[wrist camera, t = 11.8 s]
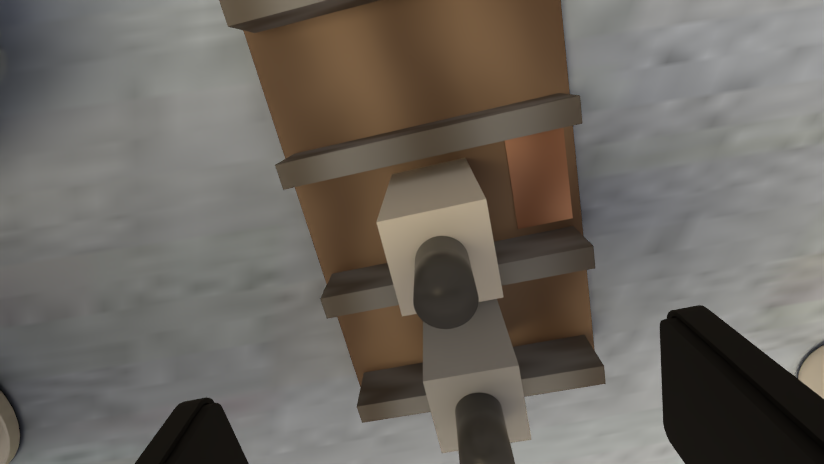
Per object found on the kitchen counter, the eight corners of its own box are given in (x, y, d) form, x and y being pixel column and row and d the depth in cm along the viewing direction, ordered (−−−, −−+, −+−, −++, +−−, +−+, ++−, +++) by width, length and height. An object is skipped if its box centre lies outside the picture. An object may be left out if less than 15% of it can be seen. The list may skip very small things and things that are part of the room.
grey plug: (436, 346, 27) (444, 518, 16) (423, 290, 25) (422, 439, 15) (500, 335, 26) (550, 504, 16) (489, 277, 25) (537, 421, 15)
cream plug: (391, 174, 23) (365, 255, 13) (465, 157, 22) (500, 227, 12) (408, 241, 24) (397, 365, 14) (478, 227, 24) (520, 343, 13)
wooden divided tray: (364, 377, 29) (354, 425, 25) (245, 10, 21) (205, -5, 17) (587, 339, 28) (614, 383, 24) (545, -71, 20) (575, -107, 16)
